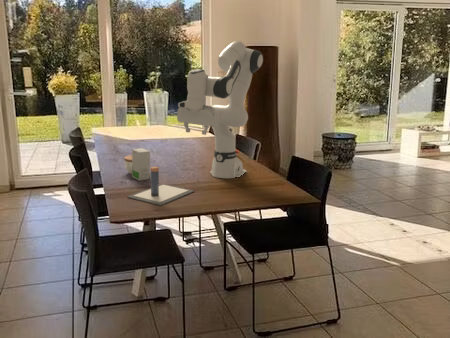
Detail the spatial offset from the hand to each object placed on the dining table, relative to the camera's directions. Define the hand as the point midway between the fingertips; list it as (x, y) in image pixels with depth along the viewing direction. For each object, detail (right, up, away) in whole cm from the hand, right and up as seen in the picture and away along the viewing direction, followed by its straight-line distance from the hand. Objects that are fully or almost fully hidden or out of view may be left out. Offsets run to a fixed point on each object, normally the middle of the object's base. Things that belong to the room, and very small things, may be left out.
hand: (196, 133), depth 224 cm
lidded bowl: (-36, -20, +37) cm, 55 cm away
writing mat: (-17, -29, +1) cm, 34 cm away
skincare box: (-31, -22, +28) cm, 47 cm away
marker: (-19, -30, -4) cm, 35 cm away
